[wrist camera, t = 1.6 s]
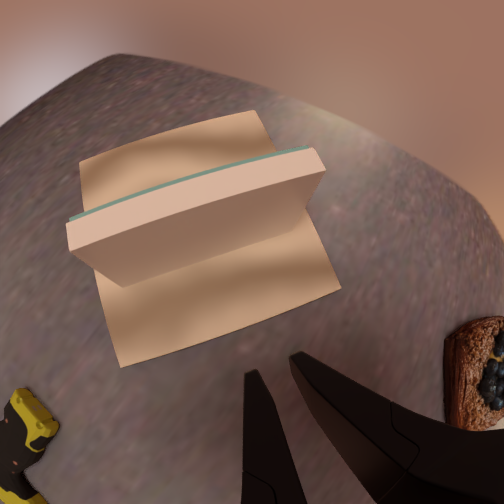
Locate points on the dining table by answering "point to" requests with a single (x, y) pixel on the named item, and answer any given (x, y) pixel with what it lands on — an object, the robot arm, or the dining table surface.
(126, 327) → the board
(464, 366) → the pastry
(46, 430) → the stun gun
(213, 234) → the tile
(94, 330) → the dining table surface
